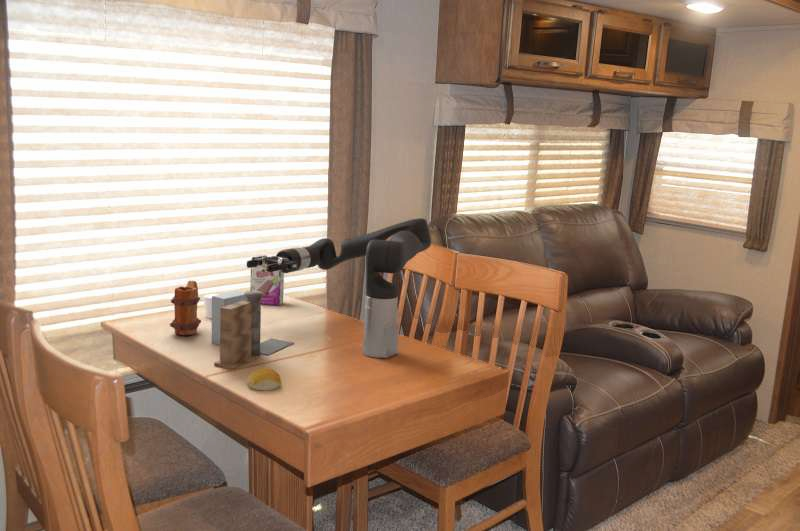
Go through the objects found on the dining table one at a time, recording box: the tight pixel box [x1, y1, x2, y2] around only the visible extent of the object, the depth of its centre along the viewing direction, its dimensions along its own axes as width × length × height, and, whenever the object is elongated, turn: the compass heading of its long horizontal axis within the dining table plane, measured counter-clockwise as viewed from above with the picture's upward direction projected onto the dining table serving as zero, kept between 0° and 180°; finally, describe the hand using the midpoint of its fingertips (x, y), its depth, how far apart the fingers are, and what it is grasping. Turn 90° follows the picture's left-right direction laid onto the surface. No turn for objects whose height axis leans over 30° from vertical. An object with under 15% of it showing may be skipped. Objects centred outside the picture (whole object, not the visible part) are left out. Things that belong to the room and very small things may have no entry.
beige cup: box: [203, 293, 220, 319], centre depth 249 cm, size 7×7×7 cm
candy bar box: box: [249, 258, 285, 307], centre depth 268 cm, size 11×5×16 cm, turn 82°
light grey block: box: [211, 290, 246, 345], centre depth 222 cm, size 5×10×14 cm, turn 146°
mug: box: [169, 280, 202, 336], centre depth 229 cm, size 15×8×15 cm, turn 179°
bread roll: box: [246, 368, 282, 391], centre depth 188 cm, size 8×9×4 cm
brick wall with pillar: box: [213, 290, 263, 370], centre depth 205 cm, size 16×6×18 cm, turn 156°
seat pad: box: [260, 338, 295, 356], centre depth 219 cm, size 14×8×1 cm, turn 157°
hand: (257, 266), depth 229 cm, fingers open, 8 cm apart
